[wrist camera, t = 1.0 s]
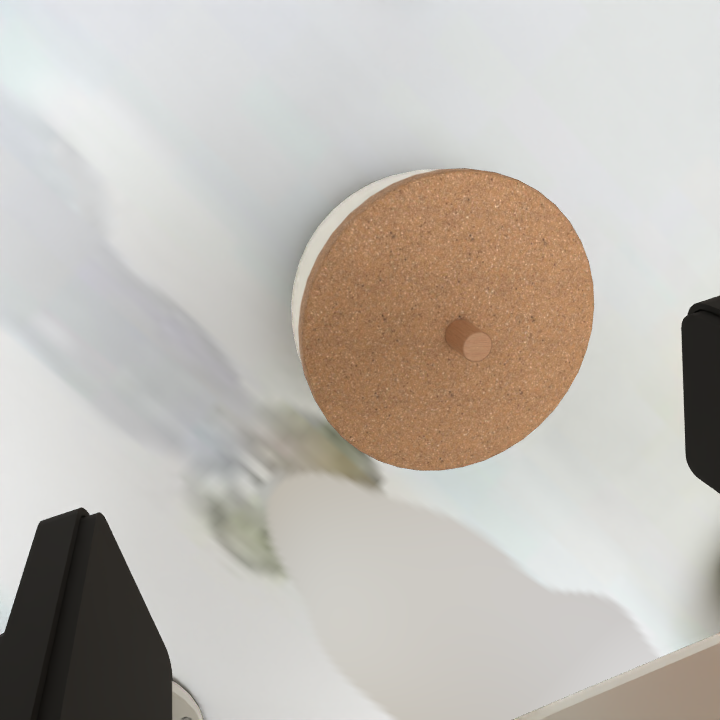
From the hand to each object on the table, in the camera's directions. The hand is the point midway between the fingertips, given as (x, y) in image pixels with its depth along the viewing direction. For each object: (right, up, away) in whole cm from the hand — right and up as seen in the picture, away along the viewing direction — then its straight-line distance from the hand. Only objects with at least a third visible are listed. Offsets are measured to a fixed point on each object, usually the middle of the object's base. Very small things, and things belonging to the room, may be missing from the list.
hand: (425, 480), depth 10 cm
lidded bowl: (+1, +6, +25) cm, 26 cm away
